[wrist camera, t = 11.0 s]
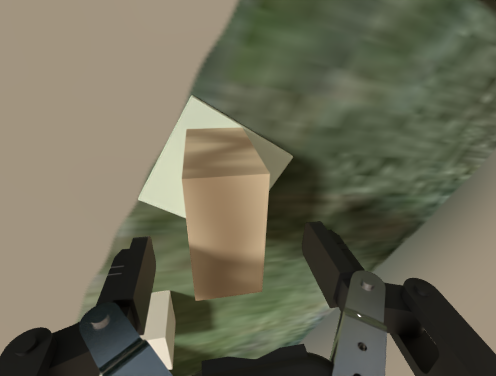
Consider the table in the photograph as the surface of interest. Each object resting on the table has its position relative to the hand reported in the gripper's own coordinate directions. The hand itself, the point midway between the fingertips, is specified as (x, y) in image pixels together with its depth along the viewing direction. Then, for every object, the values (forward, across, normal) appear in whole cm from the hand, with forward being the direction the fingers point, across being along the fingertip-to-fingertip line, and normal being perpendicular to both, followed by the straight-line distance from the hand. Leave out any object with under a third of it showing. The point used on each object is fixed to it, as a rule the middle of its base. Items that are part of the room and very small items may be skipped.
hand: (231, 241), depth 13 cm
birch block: (+8, 0, 0) cm, 8 cm away
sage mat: (+9, 0, 0) cm, 9 cm away
